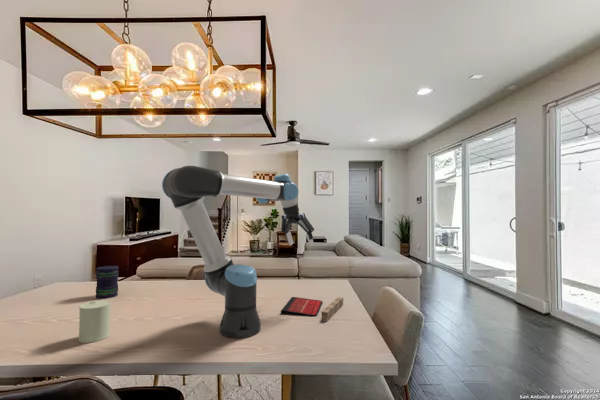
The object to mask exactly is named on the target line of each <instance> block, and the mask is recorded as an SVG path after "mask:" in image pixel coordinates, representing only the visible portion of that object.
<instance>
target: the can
mask: <svg viewBox="0 0 600 400" xmlns="http://www.w3.org/2000/svg"><path fill="white" fill-rule="evenodd" d="M110 313H111V301H109V300H95V301H93V300H92V301H88V302H86V303H82V304H80V306H79V319H78V320H79V322H78V323H79V325H78V330H79V332H78V342H79V343H82V344H86V343H87V344H88V343H89V344H90V343H95V342H99V341H102V340H104V339H105V340H106V339H107V338H108V337H109V336H110V334H111V332H110V331H111V330H110V325H111V324H110V323H111V322H110V317H111V314H110Z"/></svg>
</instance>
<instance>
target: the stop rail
mask: <svg viewBox="0 0 600 400" xmlns="http://www.w3.org/2000/svg"><path fill="white" fill-rule="evenodd" d="M343 306H344V297H341V296H337V297H336V298H335V299H334V300H333V301H332V302H331V303H330V304H329V305H327V306H326V307H325V308H324V309H323V310H322V311H321V321H322V322H323V321H324V322H328V321H329V320H330V319H331V318H332V317H333V316H334V315H335V314H336V313H337V312H338V311H339V310H340V309H341V308H342V307H343Z"/></svg>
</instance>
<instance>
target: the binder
mask: <svg viewBox="0 0 600 400" xmlns="http://www.w3.org/2000/svg"><path fill="white" fill-rule="evenodd" d="M322 305H323V301H322V300H320V299H319V300H318V299H311V298H304V297H297V296H292V297H290V298H289V300H288V301H287V302H286V303H285V305H284V306H283V307H282V309H281V310H280V315H283V314H285V313H286V314H288V315H290V316H299V317H300V316H301V317H317V316H318V315H319V311H320V309H321V306H322Z"/></svg>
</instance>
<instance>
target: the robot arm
mask: <svg viewBox="0 0 600 400" xmlns="http://www.w3.org/2000/svg"><path fill="white" fill-rule="evenodd" d="M161 181H162V182H161V188H162V191H163V193H164V194H165V196H167V198H169V199H170V200H171V202H172V205H173V207H174V209H176V210H179V211H181V214H182V216H183V218H184V221H185V223H186V225H187V227H188V229H189V232H190V235H192V236H191V237H192V238H193V240H194V243H195V245H196V248H197V249H198V252H199V253H200V254H199V255H201V258H202V260H203V262H204V267H203V268H202V269H203V273H204V274H205V275H204V282H205V284H206V286H207V287H208V289H209V290H210V291H212V292H214V293H216V294H218V295H221V296H223V297H224V311H223V315H222V318H221V321H220V323H219V334H220V335H222V336H224V337H226V338H229V339H230V338H231V339H232V338H233V339H241V338H243V339H244V338H247V337H252V336H254V335H257V334H258V333H259V332H260V331H261V329H262V324H261V320H260V316H259V314H258V313H259V311H258V310H257V281H258V277H257V270H256V269H255V268H254V267H253V266H251V265H247V264H245V265H244V264H234V262H233V259H232V257H231V256H230V255H226V253H225V250H224V248H223V247H222V243H221V241H220V240H219V239H220V238H219V236H218V235H217V232H216V230H215V227H214V226H213V222H212V220H211V219H210V216H209V214H208V211H207V209H206V207H205V205H204V199H205V197H216V198H217V197H218V196H220V195H221V196H223V195H224V196H232V197H233V196H234V197H244V198H255V199H256V201H257V203H259V204H261V205H263V204H264V205H265V204H267V203H268V202H277V201H278V202H279V201H280V203H281V207H282V210H283V215H281V229H280V231H281V233H283V234H285V238H286V239H287V241H288V245H289V246H290V247H291V246H292V245H293V244H295V242H294V240H293V236H292V233H291V231H290V229H291V227H292V224H297V225H298V226H300V228H301V229H303V231H304V232H305V233H306V234H305V235H306V239H307V242H308V246H309V247H313V245H314V244H315V243H314V235H313V232H314V231H315V228H314V227H313V226H312V224H311V222H310V220H308V218H307V216H306V214H305V213H304V212H303V213H300V207H299V205H298V202H297V198H298V195H299V187H298V186H297V184H296V183H294V182H292V180H291V176H290V175H289V174H288V173H281V174H278V175H276V176H274V177H273V180H266V179H259V178H253V177H246V176H239V175H232V174H227V173H226V174H225V173H222V172H221V170H219V169H218V170H217V169H211V168H208V167H207V168H206V167H201V166H196V165H184V166H182V167H178V168H174V169H171V170H170V171H168V172H167V173H166V174H165V175H164V177H163V179H162V180H161Z"/></svg>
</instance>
